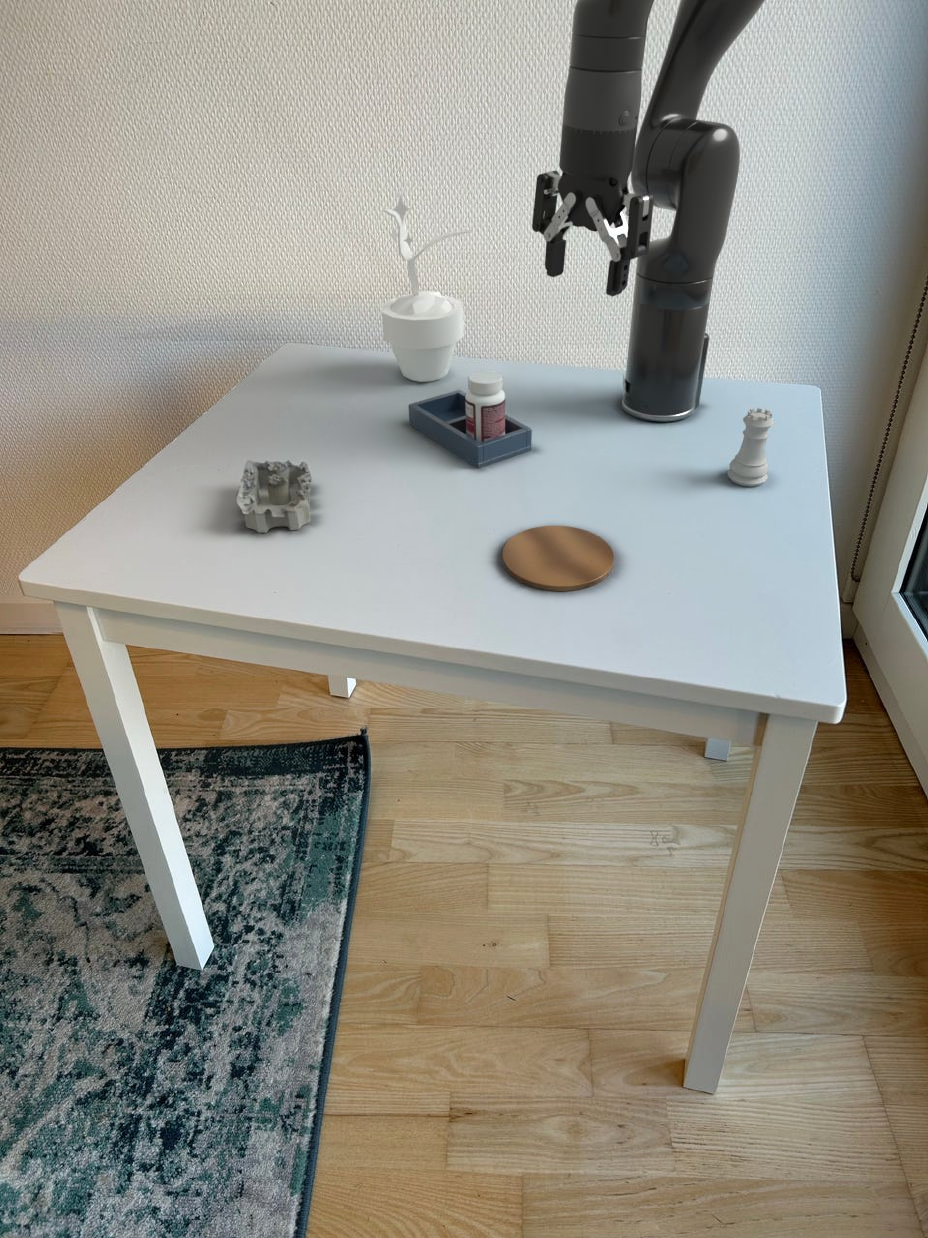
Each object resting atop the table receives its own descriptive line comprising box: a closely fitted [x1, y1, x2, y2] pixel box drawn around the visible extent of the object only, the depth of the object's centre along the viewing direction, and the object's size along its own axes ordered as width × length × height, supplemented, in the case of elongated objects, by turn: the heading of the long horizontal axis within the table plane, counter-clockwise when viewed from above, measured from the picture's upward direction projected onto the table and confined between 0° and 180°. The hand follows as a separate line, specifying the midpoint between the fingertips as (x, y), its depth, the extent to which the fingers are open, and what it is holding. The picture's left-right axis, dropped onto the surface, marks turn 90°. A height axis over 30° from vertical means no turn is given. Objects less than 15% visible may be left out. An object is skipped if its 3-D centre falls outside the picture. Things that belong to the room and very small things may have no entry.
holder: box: [407, 389, 533, 469], centre depth 107 cm, size 8×15×3 cm, turn 35°
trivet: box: [501, 525, 615, 592], centre depth 85 cm, size 11×11×1 cm
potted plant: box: [380, 193, 472, 383], centre depth 117 cm, size 13×12×25 cm
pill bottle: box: [465, 370, 506, 443], centre depth 103 cm, size 5×5×8 cm
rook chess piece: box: [727, 407, 775, 488], centre depth 96 cm, size 4×4×8 cm
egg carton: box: [236, 459, 312, 534], centre depth 93 cm, size 11×8×4 cm
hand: (583, 284), depth 96 cm, fingers open, 8 cm apart
